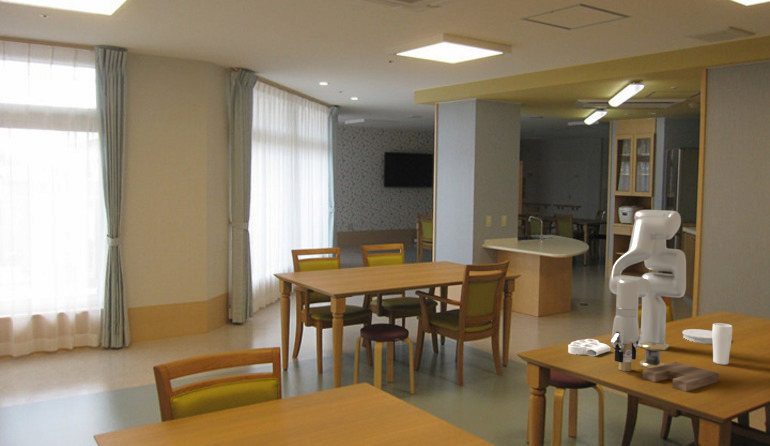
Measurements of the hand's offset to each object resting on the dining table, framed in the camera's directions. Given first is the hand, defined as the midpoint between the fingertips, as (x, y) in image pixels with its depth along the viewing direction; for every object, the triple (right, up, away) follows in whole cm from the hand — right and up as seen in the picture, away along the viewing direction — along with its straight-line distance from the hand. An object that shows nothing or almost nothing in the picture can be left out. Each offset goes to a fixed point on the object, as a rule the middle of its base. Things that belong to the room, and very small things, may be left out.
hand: (625, 359), depth 227 cm
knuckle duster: (-5, -3, +27) cm, 27 cm away
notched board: (+15, -5, -12) cm, 19 cm away
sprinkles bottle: (0, -4, 0) cm, 4 cm away
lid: (+56, -2, +49) cm, 74 cm away
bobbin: (+13, -4, +6) cm, 15 cm away
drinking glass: (+41, -4, +10) cm, 43 cm away
